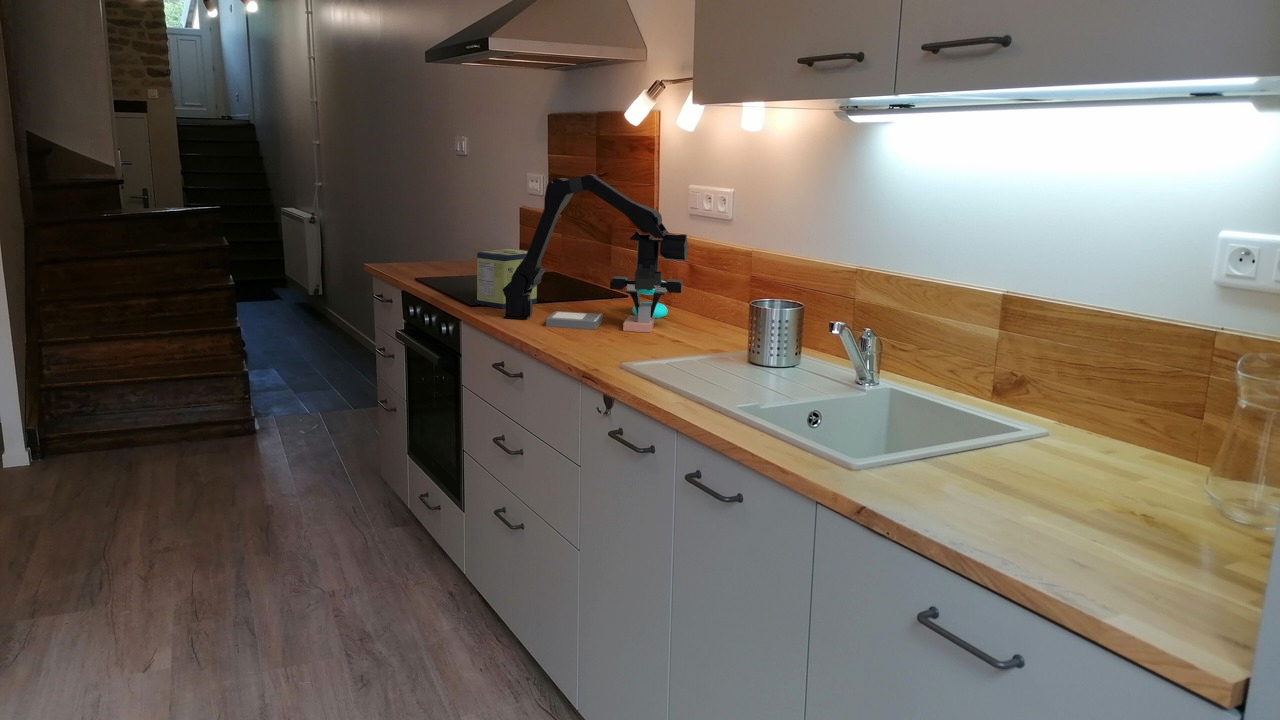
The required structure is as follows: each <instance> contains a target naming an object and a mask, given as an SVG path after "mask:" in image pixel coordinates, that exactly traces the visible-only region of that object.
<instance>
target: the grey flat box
mask: <svg viewBox="0 0 1280 720" xmlns="http://www.w3.org/2000/svg"><path fill="white" fill-rule="evenodd" d="M603 317H604V314H603V313H594V312H593V313H592V312H577V311H576V312H572V311H561V310H560V311H559V310H558V311H557V310H555V311H554V312H552V313H551V314H550V315H549V316H548V317H547V318H546V319H545V320H546V321H545V323H546V324H545V327H552V328H567V329H568V328H569V329H583V330H597V329H598V327H599V326H600V325H601V323H602V322H603V321H604V320H603Z"/></svg>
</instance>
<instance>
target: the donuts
mask: <svg viewBox="0 0 1280 720" xmlns="http://www.w3.org/2000/svg"><path fill="white" fill-rule="evenodd" d="M661 282H666V281H664V280H662V281H661ZM654 292H655V288H653V290H645V289H640V290H639V294H640V295H647V296H653V295H654ZM667 292H668V291H667V290H666V293H667ZM652 302H653V301H642V302H641V301H640V304H641V303H652ZM668 312H669V310H668V308H667V307H666V305H664V304H663V303H660V302H658V303H657V305H656V308H655V311H654V314H653V316H652V317H655V318H654V319H659V318H664V317H666V316H667V315H668ZM632 313H633V315H634V316H638V315H637V311H636V308H635V305H634V306H633V308H632Z"/></svg>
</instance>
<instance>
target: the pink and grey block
mask: <svg viewBox="0 0 1280 720" xmlns="http://www.w3.org/2000/svg"><path fill="white" fill-rule="evenodd" d="M640 303H641V302H640ZM651 307H652V303H641V304H640V306H639V307H638V316H636V315H634V314H633V315H631V314H629V315H628V316H627V317H626V319H625V320H624V322H623V324H622V325H623V326H622V327H623V328H622V330H623V331H624V332H636V333H637V332H639V333H651V332H652V329H653V327H654V325H655V319H656V318H655V317H651Z"/></svg>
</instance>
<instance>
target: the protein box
mask: <svg viewBox="0 0 1280 720" xmlns="http://www.w3.org/2000/svg"><path fill="white" fill-rule="evenodd" d="M527 252H528V250H524V249H517V248H505V249H495V250H486V251H478V252H477V255H476V257H477V259H476V260H477V265H476V266H477V267H476V269H477V273H476V277H477V278H476V282H477V283H476V285H477V286H476V288H477V289H476V298H477V299H476V301H477V302H476V304H477V303H479V304H483V305H487V306H486V307H489V306H490V308H495V309H500V310H505V308H506V297H505V296H504V292H503V288H504V287H505V286H506V285H508V284H509V283H510V282H511V278H512V276H513V274H514V272H515V271H516V269H517V267H518V266H519V265H520V263H521V262H522V261H523V259H524V258H525V257H526V254H527ZM537 290H538V285H537V286H535V287H534V288H533V289H532V292H531V293H530V294H528V295H530V300H532V305H534V304H537V297H538V293H537V292H538V291H537Z"/></svg>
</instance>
